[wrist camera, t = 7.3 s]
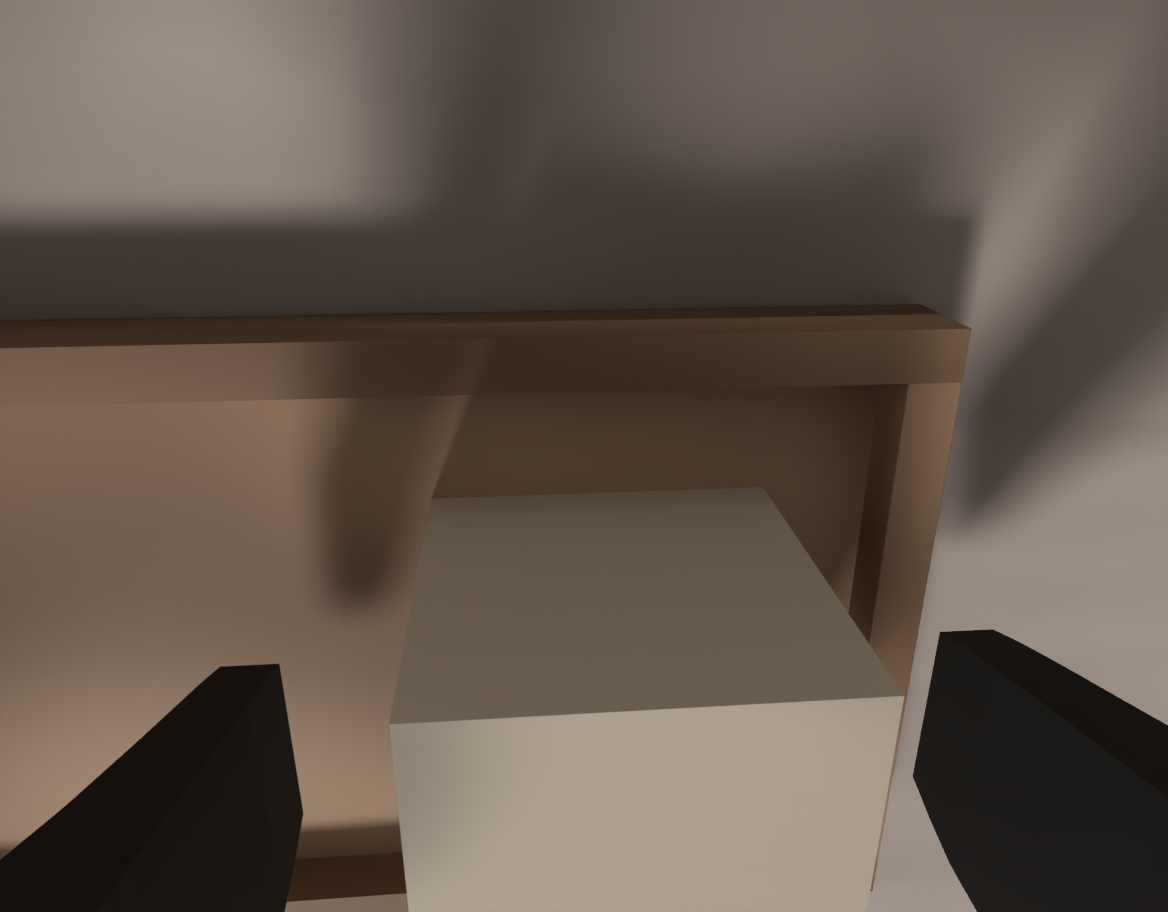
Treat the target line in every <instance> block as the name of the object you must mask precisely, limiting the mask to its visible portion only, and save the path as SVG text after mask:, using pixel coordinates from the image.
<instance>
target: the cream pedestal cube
mask: <svg viewBox="0 0 1168 912" xmlns="http://www.w3.org/2000/svg"><path fill="white" fill-rule="evenodd" d="M903 700H904V695H903V693H902V692H901V690H900V689H899V687H898V686H897V684H896V683H895V682H894V680H893V679H892V677H891V676H890V674H889V673H888V671H887V670H886V668H885V667H884V665H883V664H882V662H881V661H880V659H879V658H878V656H877V655H876V653H875V652H874V651H873V649H872V648H871V646H870V645H869V643H868V642H867V640H866V639H865V637H864V636H863V634H862V633H861V631H860V630H859V628H858V627H857V625H856V624H855V622H854V621H853V619H852V618H851V617H850V615H849V614H848V612H847V611H846V609H845V608H844V606H843V605H842V603H841V602H840V600H839V599H838V597H837V596H836V594H835V593H834V591H833V590H832V588H831V587H830V586H829V584H828V583H827V581H826V580H825V578H824V577H823V575H822V574H821V572H820V571H819V569H818V568H817V566H816V565H815V563H814V562H813V560H812V559H811V557H810V556H809V554H808V553H807V552H806V550H805V549H804V547H803V546H802V544H801V543H800V541H799V540H798V538H797V537H796V535H795V534H794V532H793V531H792V529H791V528H790V526H789V525H788V523H787V522H786V521H785V519H784V518H783V516H782V515H781V513H780V512H779V510H778V509H777V507H776V506H775V504H774V503H773V501H772V500H771V498H770V497H769V495H768V494H767V492H766V491H765V489H764V488H763V487H752V488H723V489H695V490H666V491H637V492H608V493H580V494H551V495H522V496H494V497H465V498H436V499H431V503H430V508H429V513H428V519H427V524H426V529H425V535H424V540H423V545H422V551H421V556H420V561H419V567H418V572H417V578H416V583H415V588H414V594H413V599H412V604H411V610H410V615H409V620H408V626H407V631H406V636H405V642H404V647H403V653H402V658H401V663H400V669H399V674H398V679H397V685H396V690H395V695H394V701H393V706H392V711H391V717H390V722H389V729H390V738H391V748H392V757H393V767H394V776H395V786H396V795H397V805H398V814H399V824H400V833H401V842H402V852H403V861H404V871H405V880H406V890H407V899H408V909H409V912H867V906H868V900H869V895H870V889H871V883H872V878H873V872H874V866H875V860H876V855H877V849H878V843H879V838H880V832H881V826H882V820H883V815H884V809H885V803H886V798H887V792H888V786H889V780H890V775H891V769H892V763H893V758H894V752H895V746H896V740H897V735H898V729H899V723H900V717H901V712H902V706H903Z"/></svg>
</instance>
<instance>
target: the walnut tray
mask: <svg viewBox="0 0 1168 912" xmlns="http://www.w3.org/2000/svg"><path fill="white" fill-rule="evenodd" d="M970 333H971V328H969V327H967V326H964V325H962V324H960V323H958V322H956V321H954V320H952V319H950V318H948V317H946V316H944V315H941V314H939V313H937V312H935V311H933V310H931V309H929V308H927V307H925V306H923V305H873V306H816V307H760V308H703V309H647V310H590V311H534V312H477V313H421V314H364V315H308V316H252V317H195V318H139V319H82V320H26V321H0V859H2V858H3V857H4V856H5V855H7V854H8V853H9V852H10V851H11V850H13V849H14V848H15V847H16V846H17V845H19V844H20V843H21V842H22V841H23V840H25V839H26V838H27V837H28V836H30V835H31V834H32V833H33V832H34V831H36V830H37V829H38V828H39V827H40V826H42V825H43V824H44V823H45V822H46V821H48V820H49V819H50V818H51V817H53V816H54V815H55V814H56V813H57V812H59V811H60V810H61V809H62V808H63V807H64V806H66V805H67V804H68V803H69V802H70V801H71V800H72V799H74V798H75V797H76V796H77V795H78V794H79V793H80V792H81V791H83V790H84V789H85V788H86V787H87V786H88V785H89V784H90V783H91V782H93V781H94V780H95V779H96V778H97V777H98V776H99V775H100V774H102V773H103V772H104V771H105V770H106V769H107V768H108V767H109V766H110V765H112V764H113V763H114V762H115V761H116V760H117V759H118V758H119V757H121V756H122V755H123V754H124V753H125V752H126V751H127V750H128V749H129V748H131V747H132V746H133V745H134V744H135V743H136V742H137V741H138V740H139V739H141V738H142V737H143V736H144V735H145V734H146V733H147V732H148V731H149V730H150V729H151V728H152V727H154V726H155V725H156V724H157V723H158V722H159V721H160V720H161V719H162V718H163V717H164V716H165V715H167V714H168V713H169V712H170V711H171V710H172V709H173V708H174V707H175V706H176V705H177V704H179V703H180V702H181V701H182V700H183V699H184V698H185V697H186V696H187V695H188V694H189V693H190V692H192V691H193V690H194V689H195V688H196V687H197V686H198V685H199V684H200V683H202V682H203V681H204V680H205V679H206V678H207V677H208V676H210V675H211V674H212V673H213V672H214V671H215V670H217V669H218V668H219V667H221V666H242V665H263V664H279V665H280V671H281V677H282V683H283V690H284V696H285V702H286V708H287V714H288V721H289V727H290V733H291V739H292V746H293V752H294V758H295V764H296V770H297V777H298V783H299V789H300V795H301V801H302V808H303V819H302V824H301V830H300V835H299V841H298V846H297V852H296V858H295V863H294V868H293V873H292V878H291V883H290V888H289V893H288V898H287V903H286V908H285V912H409V909H408V899H407V890H406V880H405V871H404V861H403V852H402V842H401V833H400V824H399V814H398V805H397V795H396V786H395V776H394V767H393V757H392V748H391V738H390V729H389V722H390V717H391V711H392V706H393V701H394V695H395V690H396V685H397V679H398V674H399V669H400V663H401V658H402V653H403V647H404V642H405V636H406V631H407V626H408V620H409V615H410V610H411V604H412V599H413V594H414V588H415V583H416V578H417V572H418V567H419V561H420V556H421V551H422V545H423V540H424V535H425V529H426V524H427V519H428V513H429V508H430V503H431V499H436V498H465V497H494V496H522V495H551V494H580V493H608V492H637V491H666V490H695V489H723V488H752V487H763V488H764V489H765V491H766V492H767V494H768V495H769V497H770V498H771V500H772V501H773V503H774V504H775V506H776V507H777V509H778V510H779V512H780V513H781V515H782V516H783V518H784V519H785V521H786V522H787V523H788V525H789V526H790V528H791V529H792V531H793V532H794V534H795V535H796V537H797V538H798V540H799V541H800V543H801V544H802V546H803V547H804V549H805V550H806V552H807V553H808V554H809V556H810V557H811V559H812V560H813V562H814V563H815V565H816V566H817V568H818V569H819V571H820V572H821V574H822V575H823V577H824V578H825V580H826V581H827V583H828V584H829V586H830V587H831V588H832V590H833V591H834V593H835V594H836V596H837V597H838V599H839V600H840V602H841V603H842V605H843V606H844V608H845V609H846V611H847V612H848V614H849V615H850V617H851V618H852V619H853V621H854V622H855V624H856V625H857V627H858V628H859V630H860V631H861V633H862V634H863V636H864V637H865V639H866V640H867V642H868V643H869V645H870V646H871V648H872V649H873V651H874V652H875V653H876V655H877V656H878V658H879V659H880V661H881V662H882V664H883V665H884V667H885V668H886V670H887V671H888V673H889V674H890V676H891V677H892V679H893V680H894V682H895V683H896V684H897V686H898V687H899V689H900V690H901V692H902V693H903V695H904V700H903V706H902V712H901V717H900V723H899V729H898V735H897V740H896V746H895V752H894V758H893V763H892V769H891V775H890V780H889V786H888V792H887V798H886V803H885V809H884V815H883V820H882V826H881V832H880V838H879V843H878V849H877V855H876V860H875V866H874V872H873V878H872V883H871V889H870V891H872V890H873V884H874V878H875V873H876V867H877V861H878V856H879V850H880V844H881V839H882V833H883V827H884V822H885V816H886V810H887V805H888V799H889V793H890V787H891V782H892V776H893V770H894V765H895V759H896V753H897V748H898V742H899V736H900V731H901V725H902V719H903V714H904V708H905V702H906V697H907V691H908V685H909V680H910V674H911V668H912V663H913V657H914V651H915V646H916V640H917V634H918V629H919V623H920V617H921V611H922V606H923V600H924V594H925V589H926V583H927V577H928V572H929V566H930V560H931V555H932V549H933V543H934V538H935V532H936V526H937V521H938V515H939V509H940V504H941V498H942V492H943V487H944V481H945V475H946V470H947V464H948V458H949V453H950V447H951V441H952V435H953V430H954V424H955V418H956V413H957V407H958V401H959V396H960V390H961V384H962V379H963V373H964V367H965V362H966V356H967V350H968V345H969V339H970Z"/></svg>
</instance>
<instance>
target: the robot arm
mask: <svg viewBox="0 0 1168 912" xmlns="http://www.w3.org/2000/svg"><path fill="white" fill-rule="evenodd" d="M913 778H914V780H915V783H916V785H917V788H918V790H919V793H920V795H921V798H922V800H923V803H924V805H925V807H926V810H927V812H928V815H929V817H930V820H931V822H932V825H933V827H934V829H935V831H936V834H937V836H938V838H939V840H940V843H941V845H942V847H943V849H944V852H945V854H946V856H947V858H948V860H949V863H950V865H951V866H952V868H953V870H954V872H955V874H956V875H957V877H958V879H959V881H960V883H961V884H962V886H963V888H964V890H965V891H966V893H967V895H968V897H969V898H970V900H971V902H972V904H973V905H974V907H975V909H976V911H977V912H1168V725H1166V724H1164V723H1162V722H1161V721H1159V720H1157V719H1155V718H1153V717H1152V716H1150V715H1148V714H1146V713H1145V712H1143V711H1141V710H1139V709H1138V708H1136V707H1134V706H1132V705H1131V704H1129V703H1127V702H1125V701H1124V700H1122V699H1120V698H1118V697H1117V696H1115V695H1113V694H1111V693H1109V692H1108V691H1106V690H1104V689H1102V688H1101V687H1099V686H1097V685H1095V684H1094V683H1092V682H1090V681H1088V680H1087V679H1085V678H1083V677H1081V676H1080V675H1078V674H1076V673H1074V672H1073V671H1071V670H1069V669H1067V668H1066V667H1064V666H1062V665H1060V664H1058V663H1057V662H1055V661H1053V660H1051V659H1049V658H1048V657H1046V656H1044V655H1042V654H1040V653H1038V652H1037V651H1035V650H1033V649H1031V648H1029V647H1027V646H1025V645H1023V644H1021V643H1020V642H1018V641H1016V640H1014V639H1012V638H1010V637H1007V636H1005V635H1003V634H1001V633H999V632H997V631H995V630H973V631H952V632H940V635H939V640H938V646H937V651H936V656H935V662H934V667H933V672H932V677H931V683H930V688H929V693H928V699H927V704H926V709H925V715H924V720H923V725H922V730H921V736H920V741H919V746H918V752H917V757H916V762H915V768H914V773H913ZM302 819H303V808H302V801H301V795H300V789H299V783H298V777H297V770H296V764H295V758H294V752H293V746H292V739H291V733H290V727H289V721H288V714H287V708H286V702H285V696H284V690H283V683H282V677H281V671H280V665H279V664H263V665H242V666H221V667H219V668H218V669H217V670H215V671H214V672H213V673H212V674H211V675H210V676H208V677H207V678H206V679H205V680H204V681H203V682H202V683H200V684H199V685H198V686H197V687H196V688H195V689H194V690H193V691H192V692H190V693H189V694H188V695H187V696H186V697H185V698H184V699H183V700H182V701H181V702H180V703H179V704H177V705H176V706H175V707H174V708H173V709H172V710H171V711H170V712H169V713H168V714H167V715H165V716H164V717H163V718H162V719H161V720H160V721H159V722H158V723H157V724H156V725H155V726H154V727H152V728H151V729H150V730H149V731H148V732H147V733H146V734H145V735H144V736H143V737H142V738H141V739H139V740H138V741H137V742H136V743H135V744H134V745H133V746H132V747H131V748H129V749H128V750H127V751H126V752H125V753H124V754H123V755H122V756H121V757H119V758H118V759H117V760H116V761H115V762H114V763H113V764H112V765H110V766H109V767H108V768H107V769H106V770H105V771H104V772H103V773H102V774H100V775H99V776H98V777H97V778H96V779H95V780H94V781H93V782H91V783H90V784H89V785H88V786H87V787H86V788H85V789H84V790H83V791H81V792H80V793H79V794H78V795H77V796H76V797H75V798H74V799H72V800H71V801H70V802H69V803H68V804H67V805H66V806H64V807H63V808H62V809H61V810H60V811H59V812H57V813H56V814H55V815H54V816H53V817H51V818H50V819H49V820H48V821H46V822H45V823H44V824H43V825H42V826H40V827H39V828H38V829H37V830H36V831H34V832H33V833H32V834H31V835H30V836H28V837H27V838H26V839H25V840H23V841H22V842H21V843H20V844H19V845H17V846H16V847H15V848H14V849H13V850H11V851H10V852H9V853H8V854H7V855H5V856H4V857H3V858H2V859H0V912H285V908H286V903H287V898H288V893H289V888H290V883H291V878H292V873H293V868H294V863H295V858H296V852H297V846H298V841H299V835H300V830H301V824H302Z"/></svg>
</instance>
